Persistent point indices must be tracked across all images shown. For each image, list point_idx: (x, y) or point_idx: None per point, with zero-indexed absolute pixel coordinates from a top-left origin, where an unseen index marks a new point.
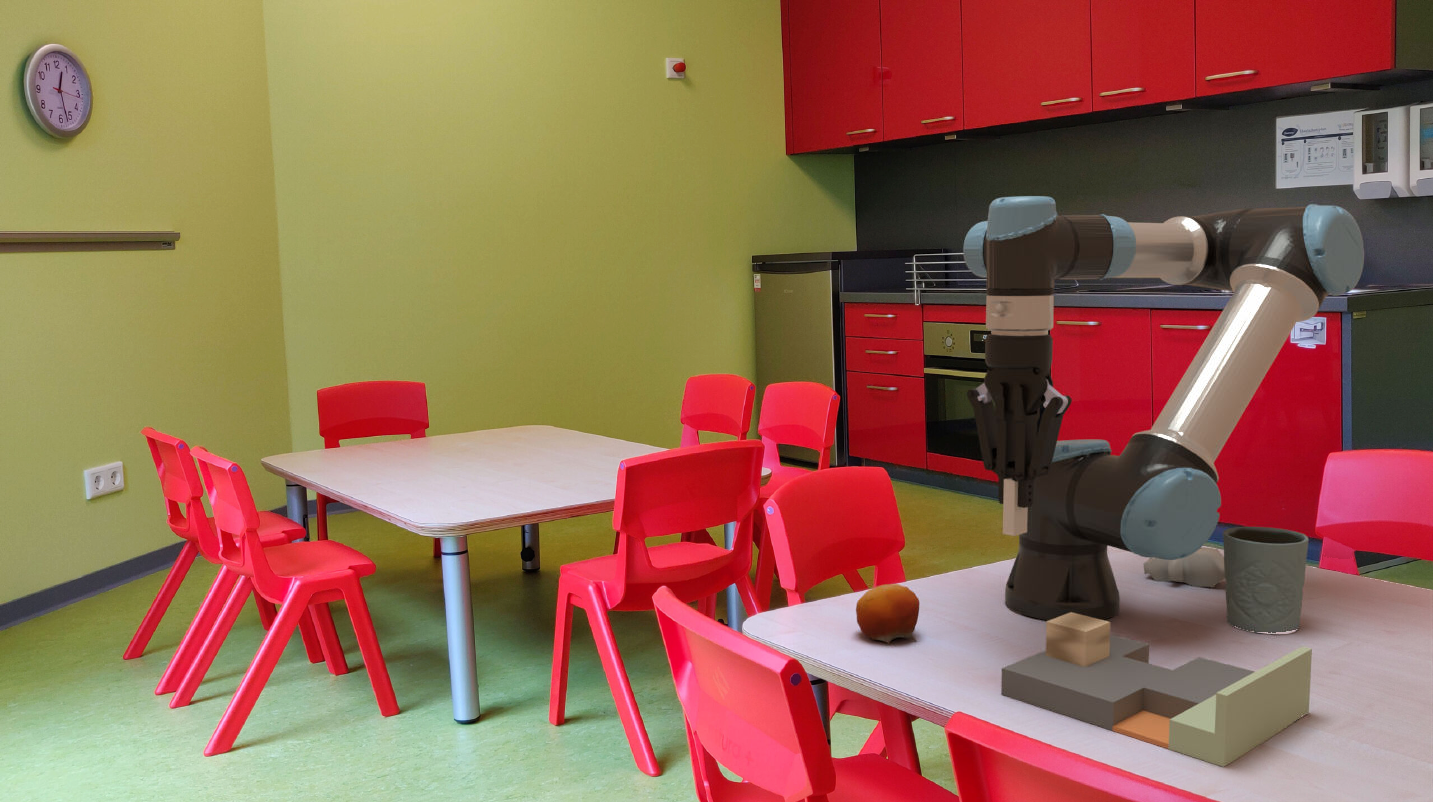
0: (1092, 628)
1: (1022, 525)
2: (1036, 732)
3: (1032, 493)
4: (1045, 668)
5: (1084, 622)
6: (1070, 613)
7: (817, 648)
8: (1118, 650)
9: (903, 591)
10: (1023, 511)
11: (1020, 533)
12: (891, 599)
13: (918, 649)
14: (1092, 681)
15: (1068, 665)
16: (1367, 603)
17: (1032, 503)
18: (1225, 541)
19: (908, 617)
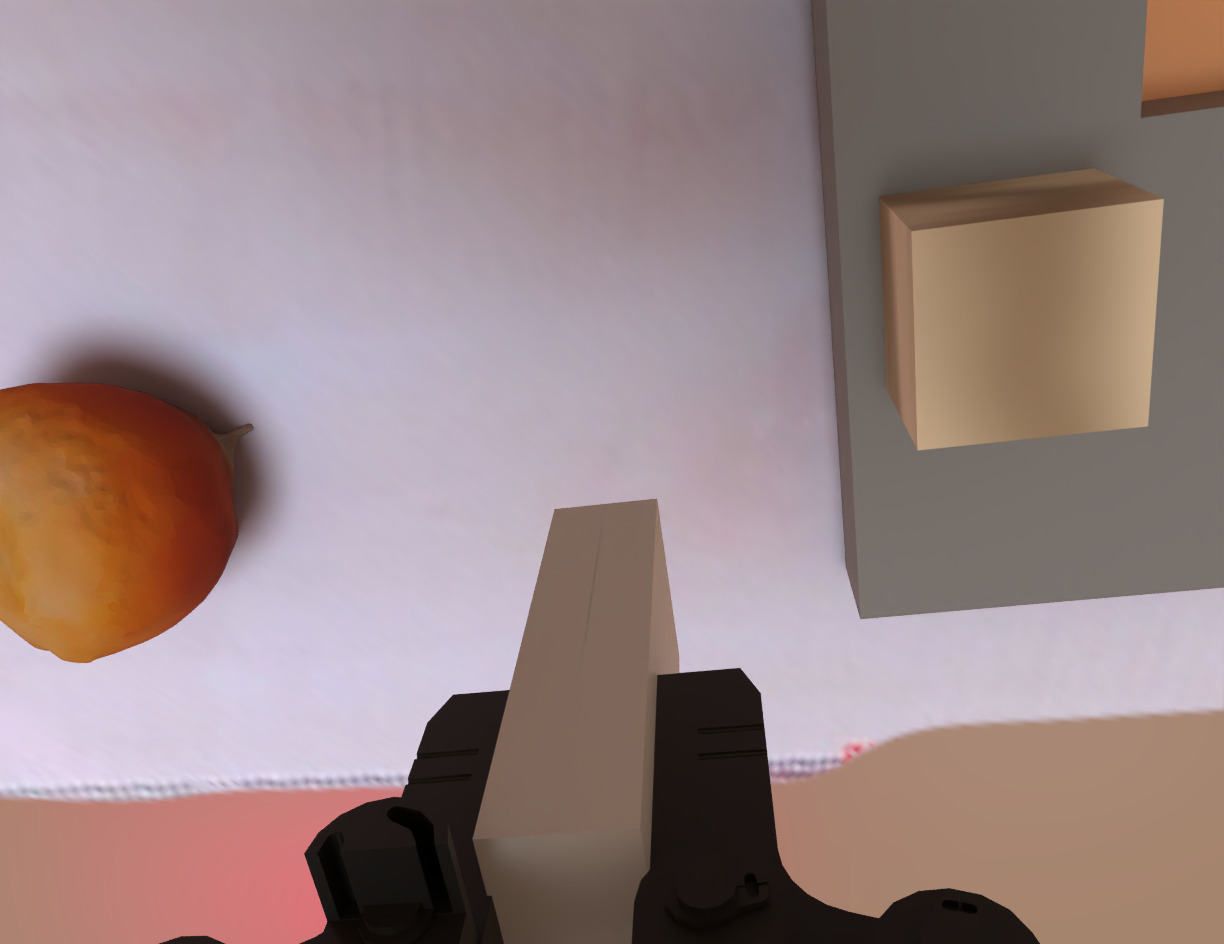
0: (1145, 360)
1: (664, 591)
2: (1115, 698)
3: (766, 766)
4: (976, 501)
5: (1063, 315)
6: (923, 252)
7: (157, 724)
8: (1085, 60)
9: (121, 560)
10: (660, 650)
11: (667, 579)
12: (156, 620)
13: (330, 477)
14: (1194, 472)
15: None
16: None
17: (751, 682)
18: None
19: (226, 527)
